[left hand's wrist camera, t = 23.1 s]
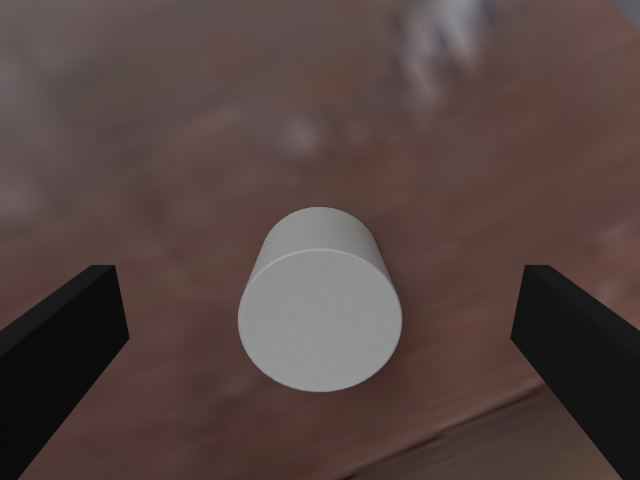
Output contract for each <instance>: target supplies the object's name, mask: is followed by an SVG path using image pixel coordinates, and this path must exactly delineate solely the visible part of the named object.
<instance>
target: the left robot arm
mask: <svg viewBox="0 0 640 480" xmlns="http://www.w3.org/2000/svg"><path fill="white" fill-rule="evenodd" d="M129 339H130V337H129V332H128V327H127V322H126V317H125V312H124V308H123V303H122V298H121V293H120V288H119V283H118V278H117V273H116V268H115V265H90V266H89V267H88V268H86V269H85V270H84V271H82V272H81V273H79V274H78V275H77V276H75V277H74V278H73V279H71V280H70V281H68V282H67V283H66V284H64V285H63V286H62V287H60V288H59V289H57V290H56V291H55V292H53V293H52V294H50V295H49V296H48V297H46V298H45V299H44V300H42V301H41V302H39V303H38V304H37V305H35V306H34V307H33V308H31V309H30V310H28V311H27V312H26V313H24V314H23V315H22V316H20V317H19V318H17V319H16V320H15V321H13V322H12V323H11V324H9V325H8V326H6V327H5V328H4V329H2V330H1V331H0V480H17V479H18V478H19V477H20V476H21V474H22V473H23V472H24V471H25V469H26V468H27V467H28V466H29V464H30V463H31V462H32V461H33V459H34V458H35V457H36V456H37V454H38V453H39V452H40V451H41V449H42V448H43V447H44V445H45V444H46V443H47V442H48V440H49V439H50V438H51V437H52V435H53V434H54V433H55V432H56V430H57V429H58V428H59V427H60V425H61V424H62V423H63V422H64V420H65V419H66V418H67V417H68V415H69V414H70V413H71V412H72V410H73V409H74V408H75V406H76V405H77V404H78V403H79V401H80V400H81V399H82V398H83V396H84V395H85V394H86V393H87V391H88V390H89V389H90V388H91V386H92V385H93V384H94V383H95V381H96V380H97V379H98V378H99V376H100V375H101V374H102V373H103V371H104V370H105V369H106V367H107V366H108V365H109V364H110V362H111V361H112V360H113V359H114V357H115V356H116V355H117V354H118V352H119V351H120V350H121V349H122V347H123V346H124V345H125V344H126V342H127V341H128V340H129ZM510 339H511V340H512V341H513V342H514V344H515V345H516V346H517V347H518V349H519V350H520V351H521V352H522V354H523V355H524V356H525V357H526V359H527V360H528V361H529V362H530V364H531V365H532V366H533V367H534V369H535V370H536V371H537V373H538V374H539V375H540V376H541V378H542V379H543V380H544V381H545V383H546V384H547V385H548V386H549V388H550V389H551V390H552V391H553V393H554V394H555V395H556V396H557V398H558V399H559V400H560V401H561V403H562V404H563V405H564V406H565V408H566V409H567V410H568V412H569V413H570V414H571V415H572V417H573V418H574V419H575V420H576V422H577V423H578V424H579V425H580V427H581V428H582V429H583V430H584V432H585V433H586V434H587V435H588V437H589V438H590V439H591V440H592V442H593V443H594V444H595V445H596V447H597V448H598V449H599V451H600V452H601V453H602V454H603V456H604V457H605V458H606V459H607V461H608V462H609V463H610V464H611V466H612V467H613V468H614V469H615V471H616V472H617V473H618V474H619V476H620V477H621V478H622V479H623V480H640V331H639V330H638V329H636V328H635V327H634V326H632V325H631V324H629V323H628V322H627V321H625V320H624V319H623V318H621V317H620V316H618V315H617V314H616V313H614V312H613V311H612V310H610V309H609V308H607V307H606V306H605V305H603V304H602V303H601V302H599V301H598V300H596V299H595V298H594V297H592V296H591V295H590V294H588V293H587V292H585V291H584V290H583V289H581V288H580V287H578V286H577V285H576V284H574V283H573V282H572V281H570V280H569V279H567V278H566V277H565V276H563V275H562V274H561V273H559V272H558V271H556V270H555V269H554V268H552V267H551V266H550V265H525V268H524V273H523V278H522V283H521V288H520V293H519V298H518V303H517V307H516V312H515V317H514V322H513V327H512V332H511V337H510Z"/></svg>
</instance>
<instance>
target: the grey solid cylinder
mask: <svg viewBox="0 0 640 480" xmlns="http://www.w3.org/2000/svg"><path fill="white" fill-rule="evenodd" d="M238 329H239V334H240V338H241V341H242V344H243V346H244V348H245V350H246V352H247V354H248V355H249V357H250V358H251V360H252V361H253V362H254V363H255V365H256V366H257V367H258V368H259V369H260V370H261V371H263V372H264V373H265V374H266V375H267V376H269V377H271V378H272V379H274V380H275V381H277V382H279V383H281V384H283V385H286V386H289V387H291V388H295V389H299V390H303V391H310V392H329V391H336V390H342V389H345V388H348V387H352V386H354V385H356V384H359V383H361V382H363V381H364V380H366V379H368V378H370V377H371V376H372V375H374V374H375V373H376V372H378V371H379V370H380V369H381V368H382V367H383V366H384V365H385V363H386V362H387V361H388V360H389V359H390V357H391V355H392V354H393V352H394V350H395V348H396V346H397V344H398V341H399V338H400V334H401V330H402V310H401V304H400V301H399V298H398V295H397V293H396V290H395V288H394V285H393V283H392V281H391V278H390V276H389V273H388V271H387V268H386V266H385V264H384V261H383V259H382V256H381V254H380V251H379V249H378V247H377V244H376V242H375V240H374V238H373V236H372V234H371V233H370V231H369V230H368V229H367V228H366V227H365V226H364V224H363V223H361V222H360V221H359V220H358V219H357V218H355V217H353V216H352V215H350V214H348V213H346V212H344V211H341V210H338V209H334V208H328V207H311V208H306V209H302V210H299V211H296V212H294V213H292V214H290V215H288V216H286V217H285V218H283V219H282V220H280V221H279V222H278V223H277V224H276V225H275V226H274V227H273V228H272V230H271V231H270V232H269V234H268V235H267V237H266V239H265V241H264V243H263V246H262V248H261V251H260V253H259V256H258V258H257V261H256V263H255V266H254V268H253V271H252V273H251V276H250V278H249V281H248V283H247V286H246V288H245V291H244V293H243V296H242V298H241V302H240V306H239V311H238Z"/></svg>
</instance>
